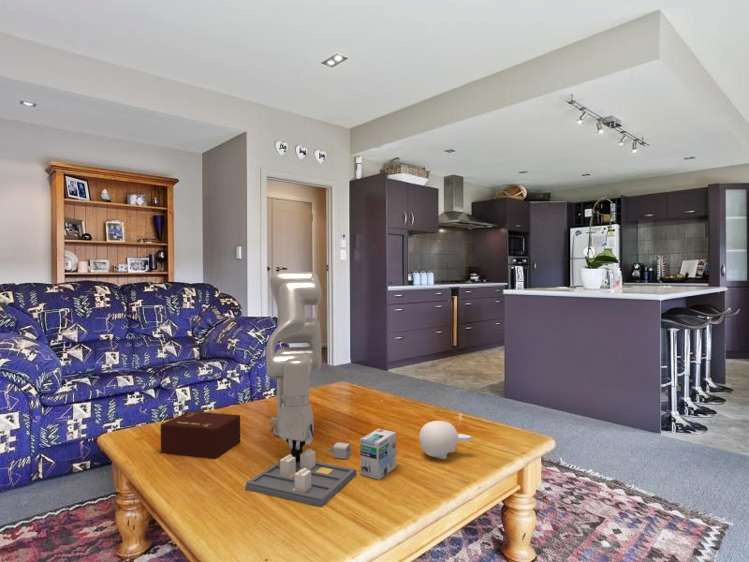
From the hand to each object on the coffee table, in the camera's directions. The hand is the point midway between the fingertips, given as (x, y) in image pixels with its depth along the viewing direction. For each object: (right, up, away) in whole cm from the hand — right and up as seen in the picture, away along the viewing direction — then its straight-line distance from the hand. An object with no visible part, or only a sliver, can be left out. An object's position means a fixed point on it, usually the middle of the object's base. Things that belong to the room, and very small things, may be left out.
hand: (297, 460), depth 135 cm
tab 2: (+3, -1, -1) cm, 4 cm away
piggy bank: (+46, -3, +10) cm, 47 cm away
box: (-36, -3, +19) cm, 41 cm away
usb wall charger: (+12, -3, +10) cm, 16 cm away
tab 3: (+4, -1, -15) cm, 16 cm away
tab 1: (-2, -2, -6) cm, 6 cm away
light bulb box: (+25, -3, -1) cm, 25 cm away
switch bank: (+3, -3, -8) cm, 9 cm away
